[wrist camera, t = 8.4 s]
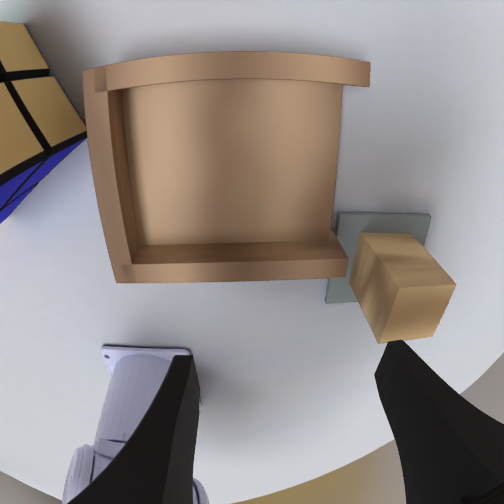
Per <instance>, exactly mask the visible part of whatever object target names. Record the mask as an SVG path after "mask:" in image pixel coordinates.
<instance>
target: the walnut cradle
mask: <svg viewBox="0 0 504 504" xmlns="http://www.w3.org/2000/svg"><path fill="white" fill-rule="evenodd" d="M82 76H83V94H84V108H85V119H86V129H87V138H88V146H89V153H90V161H91V167H92V174H93V180H94V186H95V192H96V197H97V203H98V208H99V213H100V218H101V222H102V227H103V232H104V236H105V241H106V245H107V249H108V253H109V257H110V261H111V265H112V269H113V273H114V276H115V280H116V283H191V282H235V281H268V280H295V279H318V278H339V277H346V272H347V267H348V261H349V258H348V256H347V254H346V253H345V251H344V249H343V247H342V246H341V244H340V242H339V241H338V239H337V237H336V236H335V234H334V232H333V231H332V229H331V218H332V210H333V201H334V192H335V182H336V172H337V161H338V149H339V136H340V121H341V104H342V85H350V86H361V87H369V85H370V62H366V61H360V60H354V59H347V58H340V57H332V56H323V55H313V54H301V53H286V52H258V51H234V52H206V53H191V54H180V55H170V56H161V57H153V58H146V59H139V60H133V61H127V62H121V63H116V64H110V65H106V66H101V67H96V68H92V69H87V70H83V71H82Z"/></svg>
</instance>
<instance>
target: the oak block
mask: <svg viewBox="0 0 504 504" xmlns="http://www.w3.org/2000/svg"><path fill="white" fill-rule="evenodd" d="M349 284H350V286H351V288H352V290H353V292H354V294H355V296H356V298H357V300H358V302H359V304H360V306H361V308H362V310H363V313H364V315H365V317H366V319H367V321H368V323H369V325H370V327H371V329H372V332H373V334H374V336H375V338H376V340H377V342H378V344H381V343H388V341H395V340H401V339H402V340H403V341H405V340H412V339H419V338H425V337H432V336H433V334H434V332H435V330H436V328H437V326H438V324H439V322H440V320H441V318H442V315H443V313H444V311H445V309H446V307H447V305H448V302H449V300H450V298H451V296H452V293H453V291H454V289H455V286H456V283H455V282H454V281H453V280H452V279H451V277H450V276H449V275H448V274H447V273H446V272H445V271H444V269H443V268H442V267H441V266H440V265H439V264H438V263H437V261H436V260H435V259H434V258H433V257H432V256H431V255H430V254H429V253H428V252H427V250H426V249H425V248H424V247H423V246H422V245H421V244H420V243H419V242H418V241H417V240H416V239H415V238H414V237H413V236H412V235H411V234H399V233H361V232H360V237H359V241H358V246H357V251H356V255H355V259H354V264H353V268H352V272H351V277H350V281H349Z"/></svg>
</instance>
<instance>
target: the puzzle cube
mask: <svg viewBox="0 0 504 504" xmlns="http://www.w3.org/2000/svg"><path fill="white" fill-rule="evenodd" d="M48 73H49V67H48V65H47V64H46V62H45V60H44V59H43V57H42V55H41V54H40V52H39V50H38V48H37V47H36V45H35V43H34V42H33V40H32V38H31V36H30V34H29V33H28V31H27V29H26V27H25V26H24V24H20V23H11V22H0V223H2V222H3V221H4V220H5V219H6V218H7V217H8V216H9V215H10V214H11V213H12V212H13V210H14V209H15V208H16V207H17V206H18V205H19V204H20V203H21V201H22V200H23V199H24V198H25V197H26V196H27V195H28V194H29V193H30V192H31V191H32V189H33V188H34V187H35V186H36V185H37V184H38V182H39V181H40V180H42V179H43V178H44V177H45V176H46V175H47V174H48V173H49V172H50V171H51V170H52V169H53V168H54V167H55V166H56V165H57V164H58V163H59V162H60V161H62V160H63V159H64V158H65V157H66V156H67V155H68V154H69V153H70V152H71V151H72V150H74V149H75V148H76V147H77V146H78V145H79V144H80V143H81V142H83V141H84V140H85V139H86V138H87V129H86V126H85V124H84V123H83V121H82V120H81V118H80V117H79V115H78V114H77V112H76V110H75V109H74V107H73V106H72V104H71V103H70V101H69V100H68V98H67V96H66V95H65V93H64V92H63V90H62V89H61V87H60V85H59V84H58V82H57V80H56V79H55V77H54V76H48Z"/></svg>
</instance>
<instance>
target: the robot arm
mask: <svg viewBox="0 0 504 504" xmlns="http://www.w3.org/2000/svg"><path fill="white" fill-rule="evenodd" d="M100 353H101V355H102V357H103V359H104V361H105V363H106V365H107V367H108V369H109V371H110V373H111V375H112V377H111V380H110V384H109V387H108V391H107V394H106V398H105V402H104V405H103V409H102V413H101V417H100V421H99V425H98V429H97V433H96V437H95V441H94V444H93V446H92V447H91V446H89V445H87V444H85V445H83V446H82V447H79V448H77V449H76V450H75V452H74V454H73V457H72V460H71V463H70V466H69V470H68V473H67V477H66V482H65V486H64V492H63V499H62V504H209V500H208V496H207V494H206V492H205V490H204V487H203V486H202V484H201V483H200V482H199V481H198V480H197V479H195V478H193V462H194V454H195V445H196V437H197V429H198V420H199V411H200V410H201V403H200V387H199V383H198V378H197V373H196V368H195V363H194V358H193V355H190V353H189V351H187V350H185V349H152V348H128V347H111V346H102V347H101V349H100ZM374 375H375V380H376V384H377V389H378V393H379V397H380V400H381V402H382V405H383V408H384V411H385V413H386V416H387V419H388V421H389V424H390V427H391V430H392V432H393V435H394V438H395V440H396V444H397V447H398V451H399V456H400V460H401V465H402V471H403V477H404V484H405V493H406V503H407V504H504V424H502V423H500V422H498V421H496V420H495V419H493V418H491V417H490V416H488V415H487V414H485V413H483V412H482V411H480V410H479V409H478V408H476V407H475V406H474V405H472V404H471V403H469V402H468V401H467V400H465V399H464V398H463V397H462V396H461V395H459V394H458V393H457V392H456V391H455V390H454V389H452V388H451V387H450V386H449V385H448V384H447V383H446V382H445V381H444V380H443V379H441V378H440V377H439V376H438V375H437V374H436V373H435V372H434V371H433V370H432V369H431V368H430V367H429V366H428V365H427V364H426V363H425V362H424V361H423V360H422V359H421V358H420V357H419V356H418V355H417V354H416V353H415V352H414V351H413V350H412V349H411V348H410V347H409V346H408V345H407V344H406V343H405V342H404V341H403V340H402V339H401V340H395V341H388V344H387V346H386V349H385V351H384V353H383V356H382V358H381V361H380V363H379V365H378V367H377V370H376V372H375V374H374Z"/></svg>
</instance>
